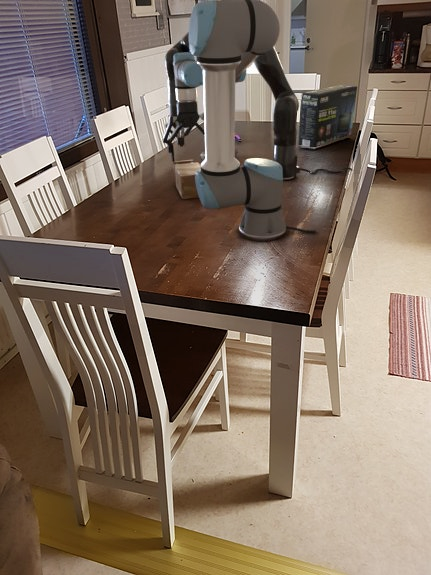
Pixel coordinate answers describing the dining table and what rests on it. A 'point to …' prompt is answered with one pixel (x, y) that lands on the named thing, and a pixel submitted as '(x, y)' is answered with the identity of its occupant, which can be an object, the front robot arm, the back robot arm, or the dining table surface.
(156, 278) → the dining table surface
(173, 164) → the drawer
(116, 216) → the dining table surface
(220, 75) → the front robot arm
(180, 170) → the tan wooden block
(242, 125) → the dining table surface
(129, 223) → the dining table surface
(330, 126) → the router box
